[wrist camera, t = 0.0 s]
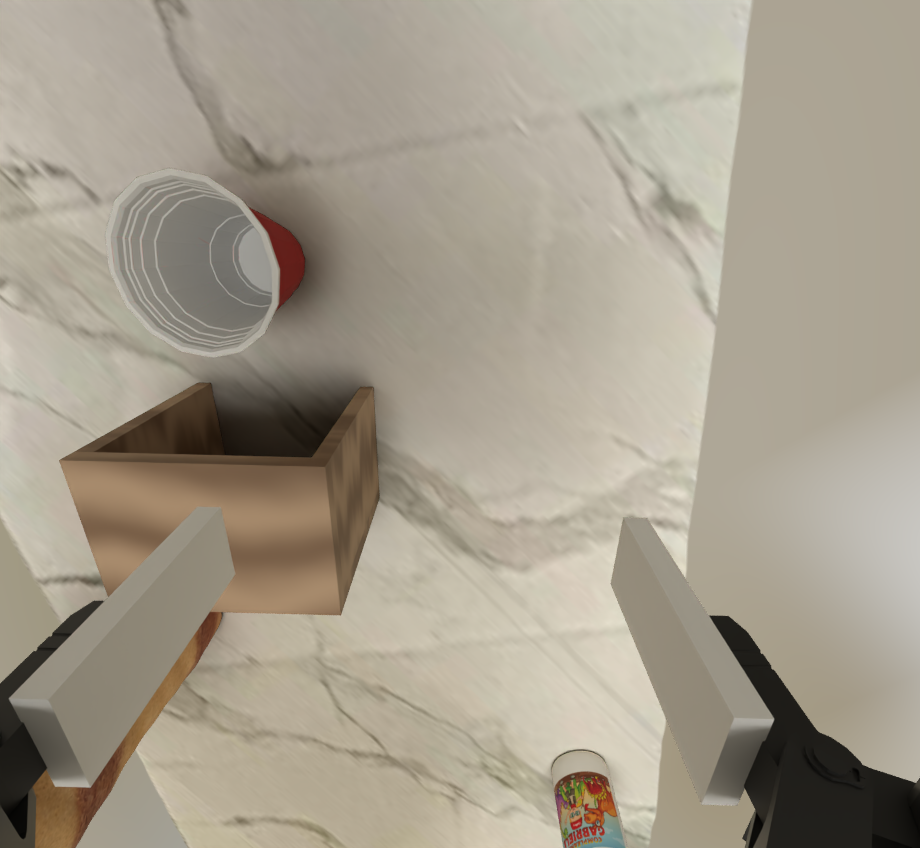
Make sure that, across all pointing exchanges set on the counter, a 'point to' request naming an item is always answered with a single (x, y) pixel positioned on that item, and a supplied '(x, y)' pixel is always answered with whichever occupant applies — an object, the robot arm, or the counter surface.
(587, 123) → the counter surface
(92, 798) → the wafer roll
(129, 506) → the open wooden crate
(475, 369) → the counter surface
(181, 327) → the plastic cup
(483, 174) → the counter surface
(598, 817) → the milk bottle
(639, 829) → the counter surface
